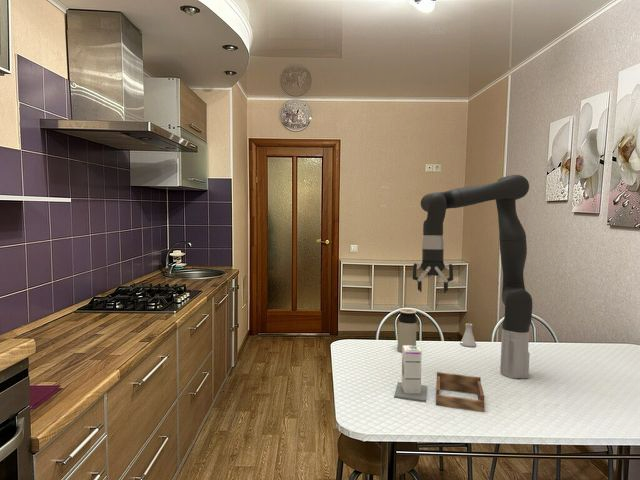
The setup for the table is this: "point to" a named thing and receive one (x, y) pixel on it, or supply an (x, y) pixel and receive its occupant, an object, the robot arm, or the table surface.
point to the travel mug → (406, 328)
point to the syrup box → (411, 369)
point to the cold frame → (460, 385)
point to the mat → (415, 397)
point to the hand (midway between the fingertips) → (432, 291)
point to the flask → (468, 337)
